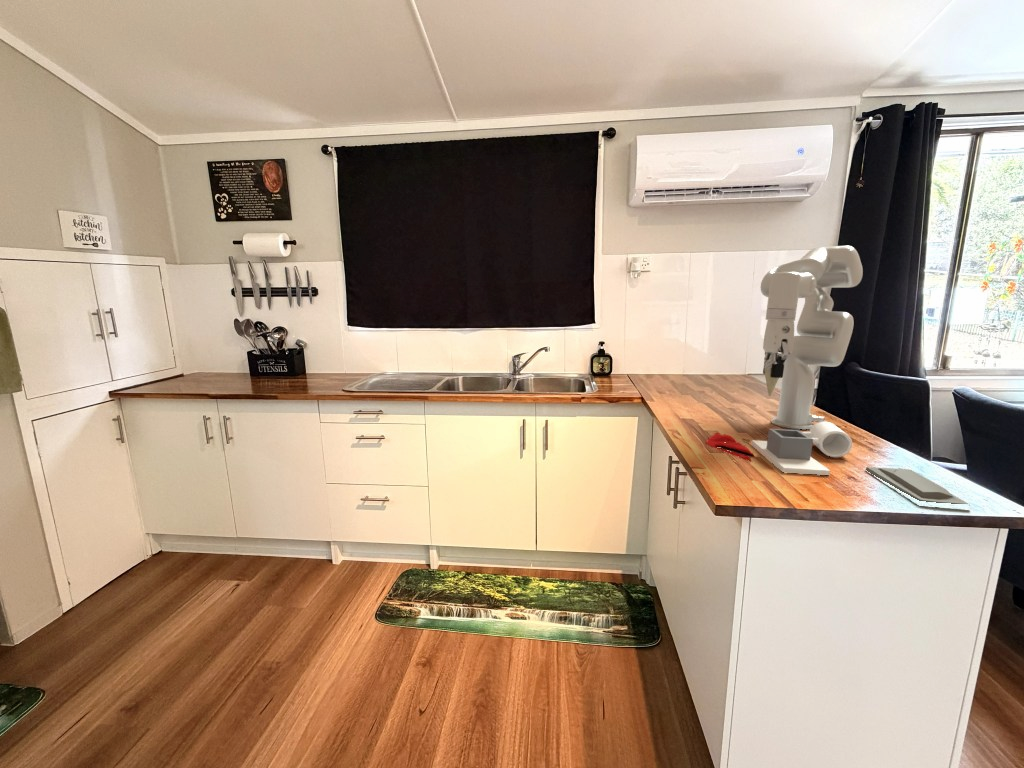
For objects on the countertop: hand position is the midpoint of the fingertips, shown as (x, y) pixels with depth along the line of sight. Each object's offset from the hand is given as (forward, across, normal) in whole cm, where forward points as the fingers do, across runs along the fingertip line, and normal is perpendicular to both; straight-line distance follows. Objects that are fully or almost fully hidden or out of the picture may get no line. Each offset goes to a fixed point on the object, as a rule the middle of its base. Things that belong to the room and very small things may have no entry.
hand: (772, 375), depth 134 cm
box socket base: (+22, -13, -2) cm, 25 cm away
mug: (+22, -4, -14) cm, 26 cm away
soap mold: (+23, -29, -23) cm, 43 cm away
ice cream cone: (+7, 0, 0) cm, 7 cm away
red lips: (+23, -4, +11) cm, 26 cm away
